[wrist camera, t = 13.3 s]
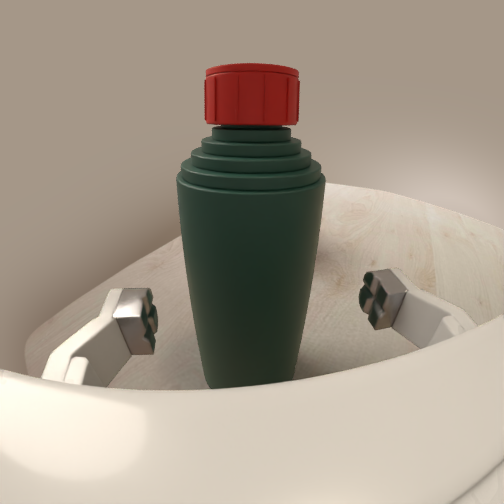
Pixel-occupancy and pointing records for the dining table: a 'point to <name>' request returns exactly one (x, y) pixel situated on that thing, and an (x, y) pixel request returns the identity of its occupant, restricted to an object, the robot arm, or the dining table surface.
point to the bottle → (250, 250)
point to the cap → (251, 94)
